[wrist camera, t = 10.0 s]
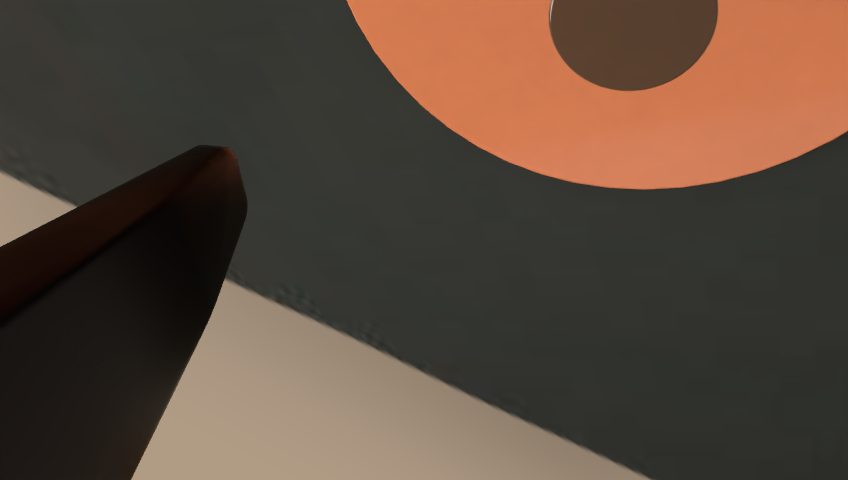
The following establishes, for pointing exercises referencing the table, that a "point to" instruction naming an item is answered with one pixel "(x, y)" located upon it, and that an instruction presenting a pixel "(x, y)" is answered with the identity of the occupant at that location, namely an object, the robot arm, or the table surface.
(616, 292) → the table surface
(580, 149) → the pot lid
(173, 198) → the robot arm
